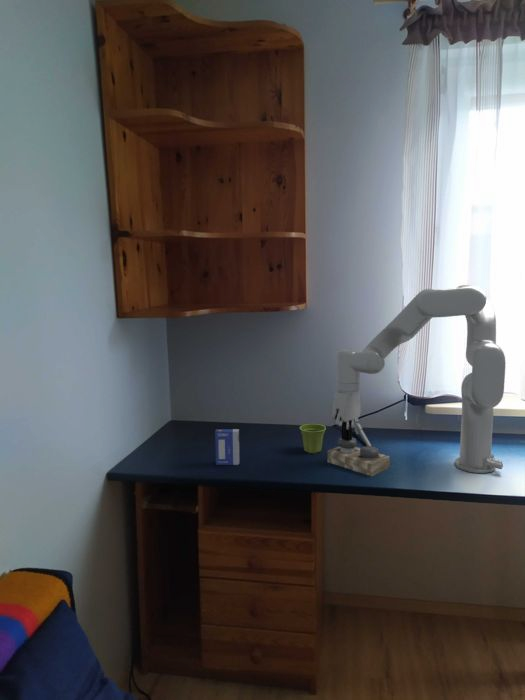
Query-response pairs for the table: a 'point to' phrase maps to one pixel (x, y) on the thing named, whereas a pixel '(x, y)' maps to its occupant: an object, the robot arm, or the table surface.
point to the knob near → (369, 453)
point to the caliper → (361, 433)
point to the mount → (358, 461)
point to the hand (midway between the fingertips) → (346, 439)
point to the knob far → (347, 445)
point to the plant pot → (312, 437)
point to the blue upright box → (227, 446)
